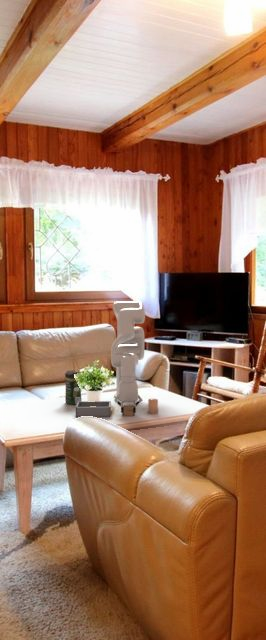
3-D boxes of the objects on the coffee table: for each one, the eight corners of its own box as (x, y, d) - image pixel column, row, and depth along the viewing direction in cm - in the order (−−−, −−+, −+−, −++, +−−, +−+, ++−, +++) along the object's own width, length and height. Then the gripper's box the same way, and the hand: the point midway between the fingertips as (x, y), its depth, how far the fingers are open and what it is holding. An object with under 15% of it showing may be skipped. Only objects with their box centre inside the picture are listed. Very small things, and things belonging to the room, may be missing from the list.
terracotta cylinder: (148, 411, 282) (148, 398, 282) (157, 411, 283) (157, 398, 282) (148, 414, 278) (148, 400, 277) (158, 414, 278) (158, 400, 277)
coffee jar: (63, 402, 304) (62, 370, 303) (76, 400, 308) (75, 369, 307) (70, 405, 296) (70, 372, 295) (83, 404, 300) (83, 371, 299)
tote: (78, 410, 285) (78, 401, 285) (111, 410, 285) (110, 401, 285) (75, 417, 272) (75, 407, 271) (110, 416, 272) (110, 407, 272)
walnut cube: (123, 413, 278) (123, 404, 278) (133, 413, 278) (133, 404, 278) (123, 416, 273) (123, 406, 273) (133, 416, 273) (133, 406, 273)
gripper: (144, 378, 278) (144, 412, 280) (111, 378, 278) (112, 412, 279) (145, 380, 271) (145, 416, 272) (111, 380, 271) (111, 416, 272)
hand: (128, 413), depth 276 cm, fingers closed on walnut cube, 5 cm apart
